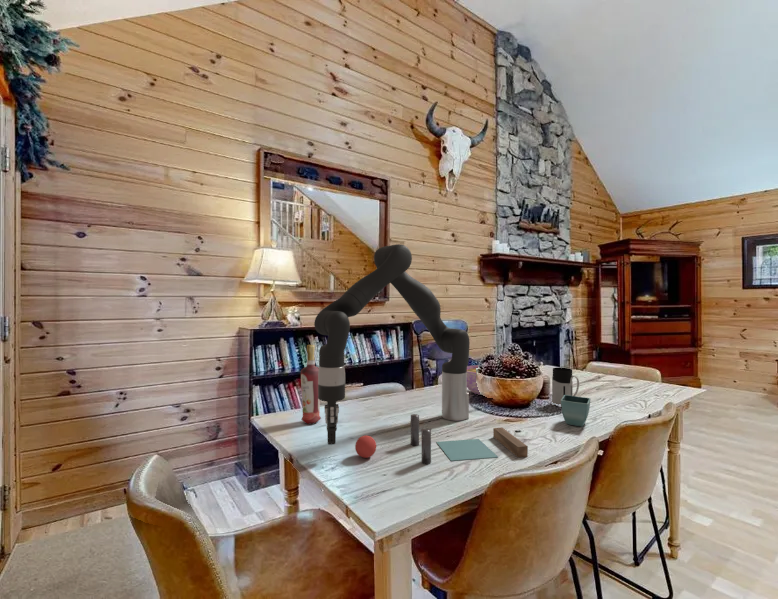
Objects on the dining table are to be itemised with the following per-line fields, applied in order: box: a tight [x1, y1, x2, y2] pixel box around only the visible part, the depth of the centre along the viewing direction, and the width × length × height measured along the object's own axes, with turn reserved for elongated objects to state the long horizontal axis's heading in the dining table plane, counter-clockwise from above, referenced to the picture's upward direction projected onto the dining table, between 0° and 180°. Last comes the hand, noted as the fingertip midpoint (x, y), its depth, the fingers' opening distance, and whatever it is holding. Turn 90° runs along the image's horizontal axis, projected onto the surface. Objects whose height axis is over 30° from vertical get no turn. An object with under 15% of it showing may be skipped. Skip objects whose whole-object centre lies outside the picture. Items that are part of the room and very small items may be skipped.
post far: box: [410, 413, 420, 447], centre depth 122 cm, size 3×3×9 cm
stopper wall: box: [492, 427, 529, 458], centre depth 120 cm, size 3×16×3 cm, turn 10°
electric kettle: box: [551, 366, 580, 404], centre depth 162 cm, size 9×14×15 cm, turn 12°
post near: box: [421, 428, 432, 465], centre depth 109 cm, size 3×3×9 cm
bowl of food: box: [467, 365, 480, 396], centre depth 182 cm, size 20×20×12 cm
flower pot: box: [560, 395, 591, 427], centre depth 141 cm, size 9×9×9 cm
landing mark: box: [436, 438, 499, 462], centre depth 118 cm, size 14×14×1 cm
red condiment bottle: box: [300, 344, 322, 425], centre depth 143 cm, size 7×7×28 cm
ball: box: [354, 435, 377, 459], centre depth 113 cm, size 6×6×6 cm
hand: (331, 443), depth 111 cm, fingers closed
